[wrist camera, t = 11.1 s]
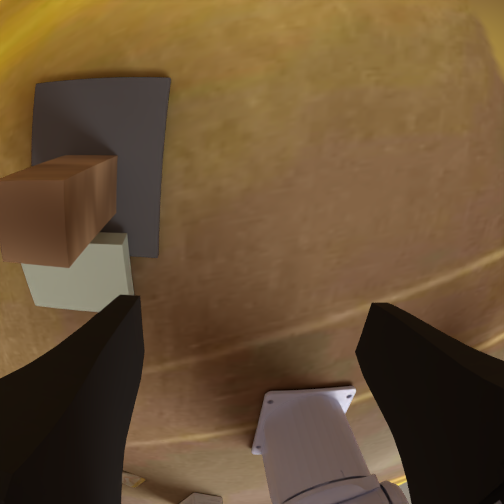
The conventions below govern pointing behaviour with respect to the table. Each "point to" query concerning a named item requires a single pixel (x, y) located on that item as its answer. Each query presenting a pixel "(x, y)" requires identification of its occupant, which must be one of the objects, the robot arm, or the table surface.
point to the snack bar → (131, 479)
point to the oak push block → (56, 208)
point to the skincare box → (202, 499)
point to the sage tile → (85, 276)
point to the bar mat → (111, 142)
